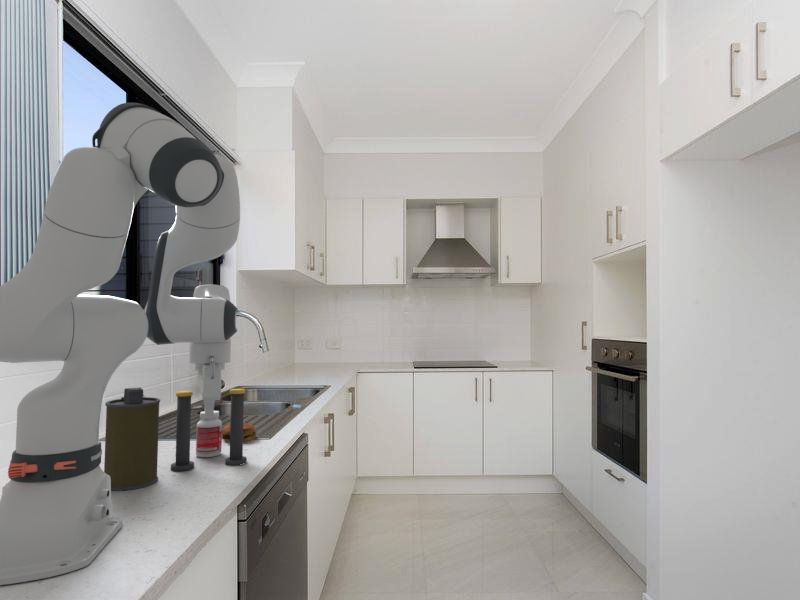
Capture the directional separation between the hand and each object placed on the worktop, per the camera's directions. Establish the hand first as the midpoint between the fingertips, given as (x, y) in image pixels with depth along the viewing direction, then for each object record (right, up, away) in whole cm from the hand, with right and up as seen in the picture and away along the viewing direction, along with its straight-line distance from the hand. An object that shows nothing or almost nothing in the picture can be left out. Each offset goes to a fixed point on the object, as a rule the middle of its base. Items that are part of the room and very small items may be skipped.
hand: (209, 415), depth 112 cm
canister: (-14, -13, -8) cm, 20 cm away
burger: (-3, -15, +31) cm, 34 cm away
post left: (-7, -13, +3) cm, 15 cm away
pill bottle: (-6, -14, +14) cm, 21 cm away
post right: (+4, -13, +7) cm, 16 cm away
